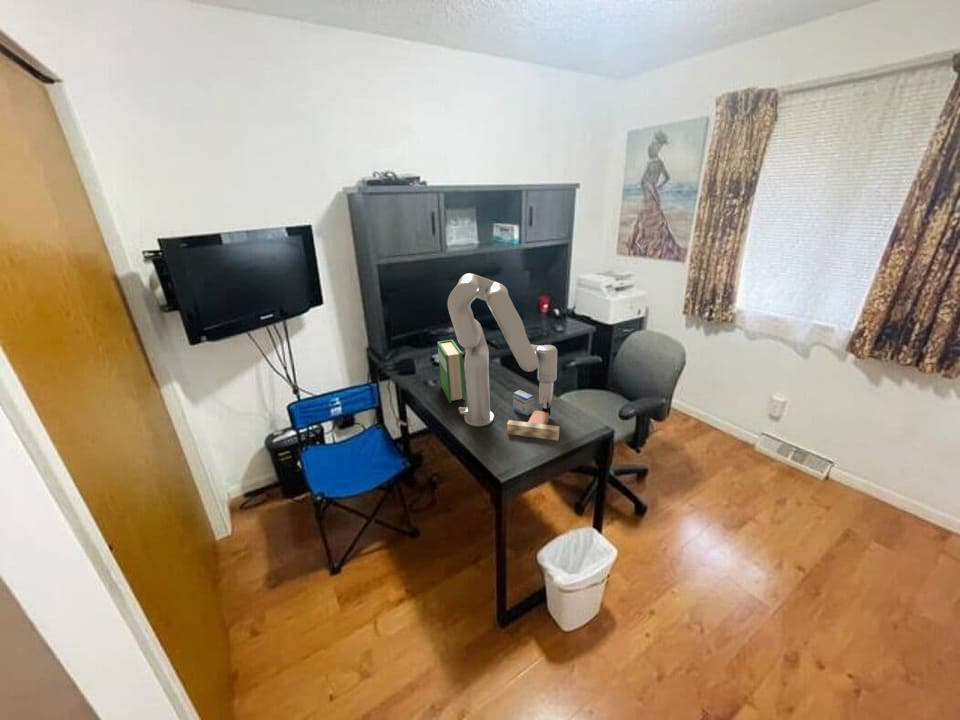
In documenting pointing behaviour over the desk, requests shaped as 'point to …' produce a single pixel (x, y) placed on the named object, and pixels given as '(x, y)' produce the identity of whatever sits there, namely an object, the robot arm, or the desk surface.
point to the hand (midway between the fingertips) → (546, 414)
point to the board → (533, 430)
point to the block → (539, 417)
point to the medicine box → (523, 402)
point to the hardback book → (451, 370)
